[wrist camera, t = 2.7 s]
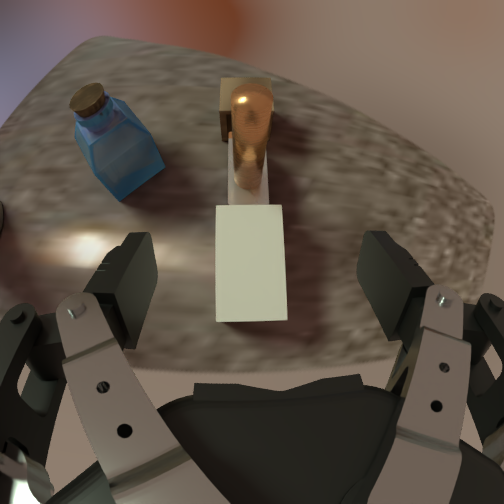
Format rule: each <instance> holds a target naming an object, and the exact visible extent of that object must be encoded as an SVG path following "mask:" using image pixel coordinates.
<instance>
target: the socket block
mask: <svg viewBox="0 0 504 504" xmlns="http://www.w3.org/2000/svg"><path fill="white" fill-rule="evenodd" d="M248 83H255V84H260V85H263V86H265V87H266V88H268V89H269V90H270V91H271V93H272V86H271V78H221V90H220V108H219V113H220V124H221V135H222V141H229V132H232V117H231V94H232V92H233V90H234V89H235V88H237V87H238V86H240V85H243V84H248ZM273 114H274V106H273V104H272V111H271V118H270V125H269V132H268V139H267V141H269V140H270V133H271V127H272V120H273Z"/></svg>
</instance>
